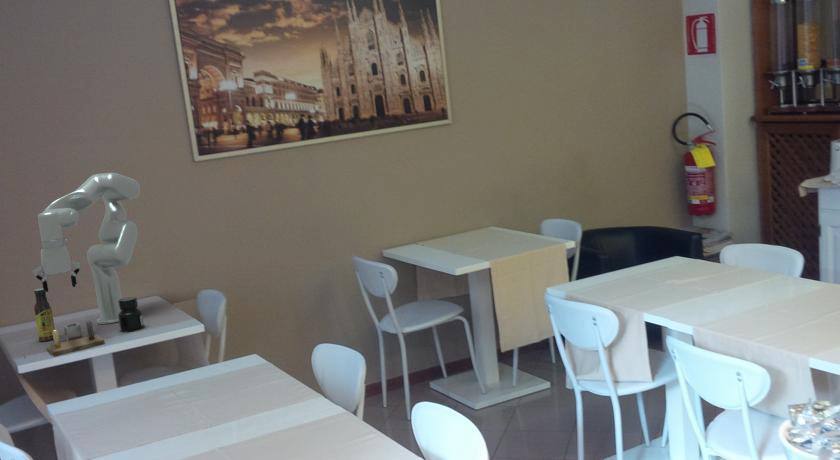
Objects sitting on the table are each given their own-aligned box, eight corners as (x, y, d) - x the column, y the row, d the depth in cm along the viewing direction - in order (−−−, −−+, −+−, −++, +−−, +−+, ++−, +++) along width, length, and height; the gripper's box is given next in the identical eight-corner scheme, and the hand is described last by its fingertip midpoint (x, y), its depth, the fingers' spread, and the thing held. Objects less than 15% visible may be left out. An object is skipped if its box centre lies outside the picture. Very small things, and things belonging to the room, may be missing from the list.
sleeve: (79, 337, 347) (76, 322, 346) (82, 340, 343) (80, 324, 342) (66, 341, 345) (63, 325, 344) (69, 343, 341) (66, 328, 340)
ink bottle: (149, 327, 352) (144, 297, 350) (128, 333, 345) (123, 302, 343) (136, 324, 358) (131, 295, 356) (116, 330, 352) (110, 300, 350)
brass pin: (61, 350, 332) (57, 329, 331) (62, 351, 330) (58, 329, 329) (55, 351, 331) (51, 330, 330) (56, 352, 329) (52, 331, 328)
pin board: (96, 338, 344) (92, 317, 342) (104, 343, 334) (101, 322, 332) (46, 350, 334) (42, 329, 333) (53, 356, 324) (49, 334, 323)
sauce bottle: (45, 342, 347) (36, 291, 343) (35, 341, 350) (26, 291, 347) (60, 337, 352) (51, 287, 349) (50, 336, 355) (41, 287, 352)
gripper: (75, 239, 347) (82, 283, 350) (27, 247, 339) (35, 292, 342) (78, 241, 341) (86, 285, 343) (29, 249, 333) (37, 294, 335)
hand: (60, 288), depth 342 cm, fingers open, 9 cm apart
